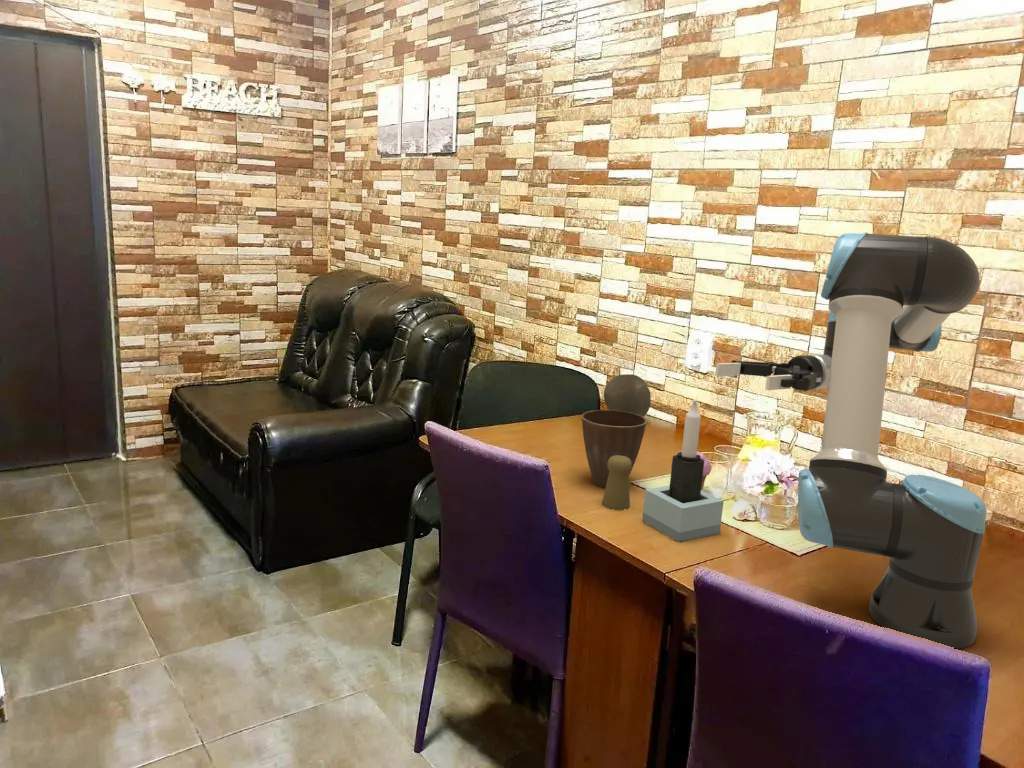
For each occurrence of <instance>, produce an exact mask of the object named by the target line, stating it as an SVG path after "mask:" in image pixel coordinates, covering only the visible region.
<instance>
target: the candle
mask: <svg viewBox="0 0 1024 768" xmlns="http://www.w3.org/2000/svg"><path fill="white" fill-rule="evenodd" d="M697 403H698V399H696V398H694V399H693V400H692V404H691V406H690V408H689V411H688V412H687V413H686V414H685V417H684V418H685V419H684V420H685V421H684V428H683V439H682V446H681V451H682V452H680V451H678V452H679V453H678V452H676V453H677V455H676V454H674V455H673V456H672V458H671V459H672V461H671V465H672V468H671V470H670V480H669V485H670V487H669V497H671V498H673V499H675V500H677V501H679V502H681V503H688V502H693V501H699V500H700V495H701V486H702V477H703V469H704V460H703V459H701V456H700V455H697V452H698V445H699V437H700V428H701V420H702V417H701V414H700V413H699V409H698V404H697Z"/></svg>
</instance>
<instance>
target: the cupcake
mask: <svg viewBox="0 0 1024 768" xmlns="http://www.w3.org/2000/svg"><path fill="white" fill-rule="evenodd" d="M679 452H682V450H680V451H678V452H676V453H675V455H677V453H679ZM697 455H700V456H701V459H703V460H704V469H703V477H702V486H701V490H702V491H704V487H705V481H706V479H707V476H708V475H710V473H711V471H712V464H711V462H710V460H709V459H708V457H706V456H705V454H703V453H702V452H700V451H697ZM671 469H672V464H671Z"/></svg>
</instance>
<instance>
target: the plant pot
mask: <svg viewBox="0 0 1024 768" xmlns="http://www.w3.org/2000/svg"><path fill="white" fill-rule="evenodd" d="M647 422H648V421H647V419H646V418H645V416H644V417H642V416H640V415H637V414H634V413H630V412H624V411H616V410H609V409H597V410H589V411H586V412H584V413H582V415H581V427H582V435H583V443H584V448H585V454H586V459H587V463H588V468H589V471H590V474H591V479H592V480H593V483H594V485H596V486H599V487H601V488H604V489H605V488H606V484H607V479H608V475H609V469H608V465H607V463H608V460H609V458H610V457H612V456H615V455H620V456H625V457H628V458H629V459H630V460H631V463H632V468H631V470H630V472H629V473H628V474H629V476H630V475H631V473H632V470H633V468H634V465H635V462H637V461H636V460H637V457H638V455H639V452H640V448H641V447H642V446H641V445H642V441H643V438H644V434H645V431H646V425H647Z"/></svg>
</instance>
